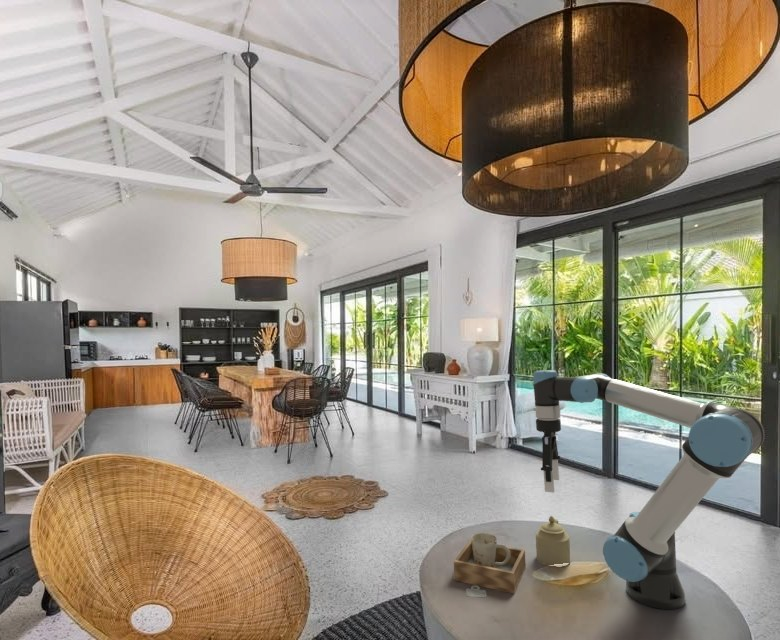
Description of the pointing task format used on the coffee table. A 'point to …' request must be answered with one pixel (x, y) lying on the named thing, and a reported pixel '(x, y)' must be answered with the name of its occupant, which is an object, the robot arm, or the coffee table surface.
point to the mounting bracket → (475, 592)
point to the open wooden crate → (491, 569)
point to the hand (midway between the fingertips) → (552, 485)
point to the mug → (487, 550)
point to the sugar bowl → (552, 543)
